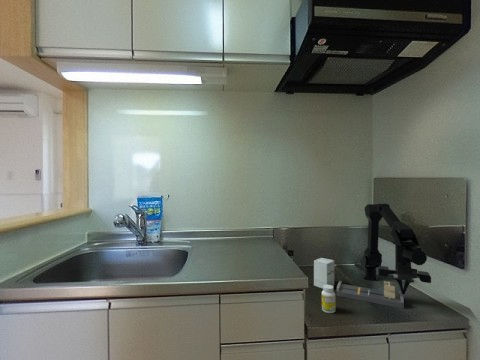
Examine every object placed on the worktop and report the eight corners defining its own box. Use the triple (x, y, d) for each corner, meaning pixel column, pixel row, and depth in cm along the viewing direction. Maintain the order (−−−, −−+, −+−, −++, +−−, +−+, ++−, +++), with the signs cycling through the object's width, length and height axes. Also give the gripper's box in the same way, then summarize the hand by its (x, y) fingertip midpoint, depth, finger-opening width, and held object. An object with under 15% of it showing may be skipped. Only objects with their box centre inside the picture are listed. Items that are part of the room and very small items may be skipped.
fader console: (339, 287, 129) (339, 280, 129) (401, 298, 116) (401, 290, 116) (336, 295, 120) (336, 288, 120) (403, 308, 108) (403, 299, 108)
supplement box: (327, 290, 126) (326, 263, 126) (313, 285, 131) (313, 260, 131) (335, 285, 131) (334, 260, 131) (321, 281, 136) (321, 257, 136)
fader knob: (383, 292, 118) (383, 280, 118) (394, 294, 116) (394, 282, 116) (384, 297, 113) (384, 285, 113) (394, 298, 111) (394, 286, 111)
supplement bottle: (335, 314, 103) (334, 290, 103) (320, 312, 106) (320, 288, 105) (335, 308, 108) (335, 284, 108) (322, 305, 111) (322, 283, 110)
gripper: (378, 259, 109) (378, 297, 109) (433, 266, 100) (433, 307, 101) (378, 252, 119) (378, 287, 119) (428, 258, 110) (428, 295, 110)
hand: (403, 294), depth 112 cm, fingers closed
